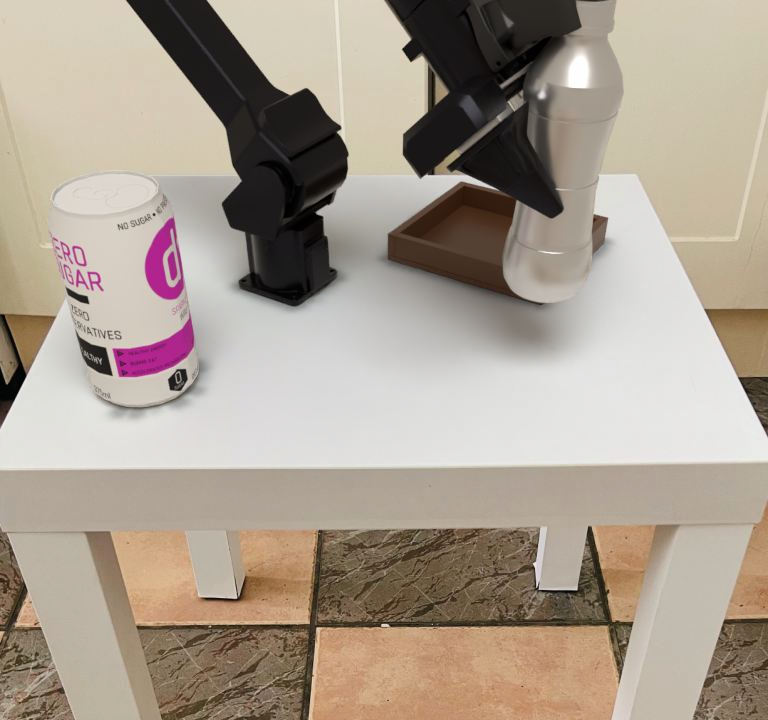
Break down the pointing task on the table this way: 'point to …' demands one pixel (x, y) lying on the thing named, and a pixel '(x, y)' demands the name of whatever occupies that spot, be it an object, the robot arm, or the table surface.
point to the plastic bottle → (566, 155)
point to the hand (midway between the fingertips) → (573, 198)
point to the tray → (465, 236)
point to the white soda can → (124, 286)
